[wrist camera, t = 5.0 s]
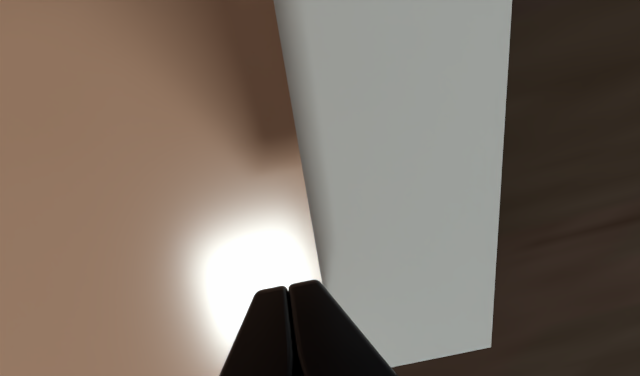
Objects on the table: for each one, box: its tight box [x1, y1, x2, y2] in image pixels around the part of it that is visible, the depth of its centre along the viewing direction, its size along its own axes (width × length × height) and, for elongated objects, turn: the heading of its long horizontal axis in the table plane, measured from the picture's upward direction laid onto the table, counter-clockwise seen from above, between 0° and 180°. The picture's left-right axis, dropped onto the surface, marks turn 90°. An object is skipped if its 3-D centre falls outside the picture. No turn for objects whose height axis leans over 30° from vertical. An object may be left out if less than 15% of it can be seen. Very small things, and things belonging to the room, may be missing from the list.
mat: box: [273, 0, 512, 367], centre depth 11 cm, size 14×14×1 cm
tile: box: [0, 0, 322, 376], centre depth 10 cm, size 9×2×8 cm
